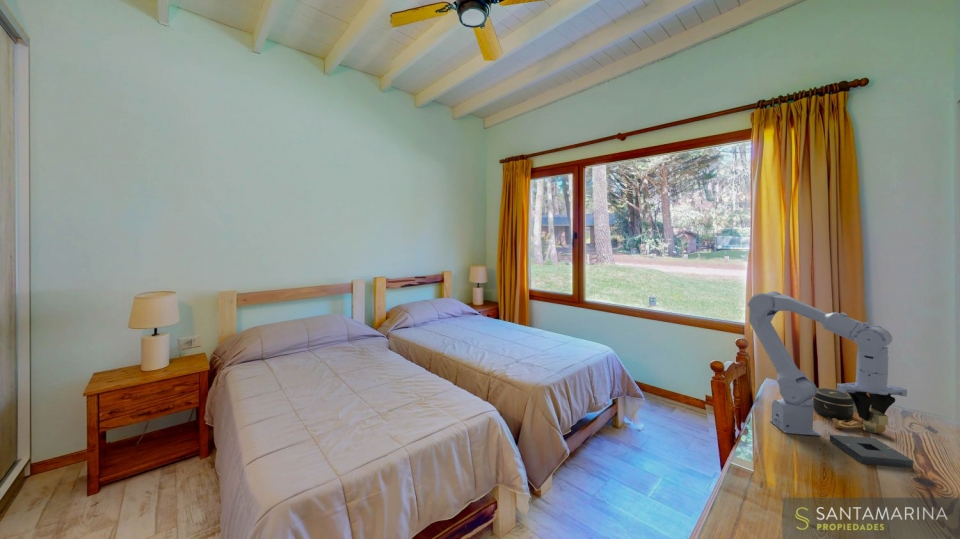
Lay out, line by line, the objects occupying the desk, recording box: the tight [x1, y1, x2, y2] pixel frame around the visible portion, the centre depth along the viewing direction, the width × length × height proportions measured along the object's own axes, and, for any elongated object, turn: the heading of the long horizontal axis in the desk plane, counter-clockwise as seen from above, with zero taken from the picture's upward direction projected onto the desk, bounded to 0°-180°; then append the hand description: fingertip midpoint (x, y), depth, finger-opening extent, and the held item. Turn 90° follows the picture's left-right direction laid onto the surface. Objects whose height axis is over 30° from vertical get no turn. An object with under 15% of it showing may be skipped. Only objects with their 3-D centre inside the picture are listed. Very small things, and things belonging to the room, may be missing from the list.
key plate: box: [829, 434, 914, 469], centre depth 96 cm, size 11×11×2 cm
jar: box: [812, 387, 855, 422], centre depth 119 cm, size 10×10×8 cm
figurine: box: [831, 418, 887, 434], centre depth 108 cm, size 8×6×12 cm
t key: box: [853, 403, 889, 433], centre depth 96 cm, size 8×2×6 cm, turn 168°
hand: (869, 419), depth 96 cm, fingers closed on t key, 2 cm apart
